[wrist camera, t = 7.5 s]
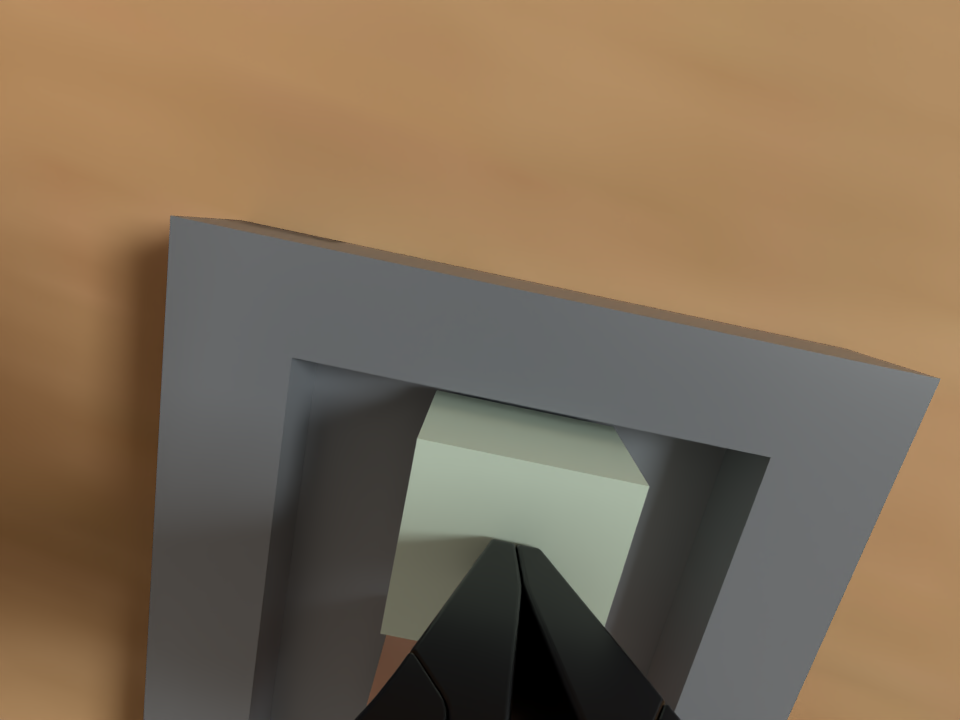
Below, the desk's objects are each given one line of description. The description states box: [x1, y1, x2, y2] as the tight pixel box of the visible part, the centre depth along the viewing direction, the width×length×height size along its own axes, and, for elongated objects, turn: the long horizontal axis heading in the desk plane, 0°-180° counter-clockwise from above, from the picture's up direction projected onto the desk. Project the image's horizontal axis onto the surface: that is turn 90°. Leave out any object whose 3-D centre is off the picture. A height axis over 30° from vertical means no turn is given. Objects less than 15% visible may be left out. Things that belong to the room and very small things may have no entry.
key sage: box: [380, 390, 649, 641], centre depth 10 cm, size 4×4×3 cm
